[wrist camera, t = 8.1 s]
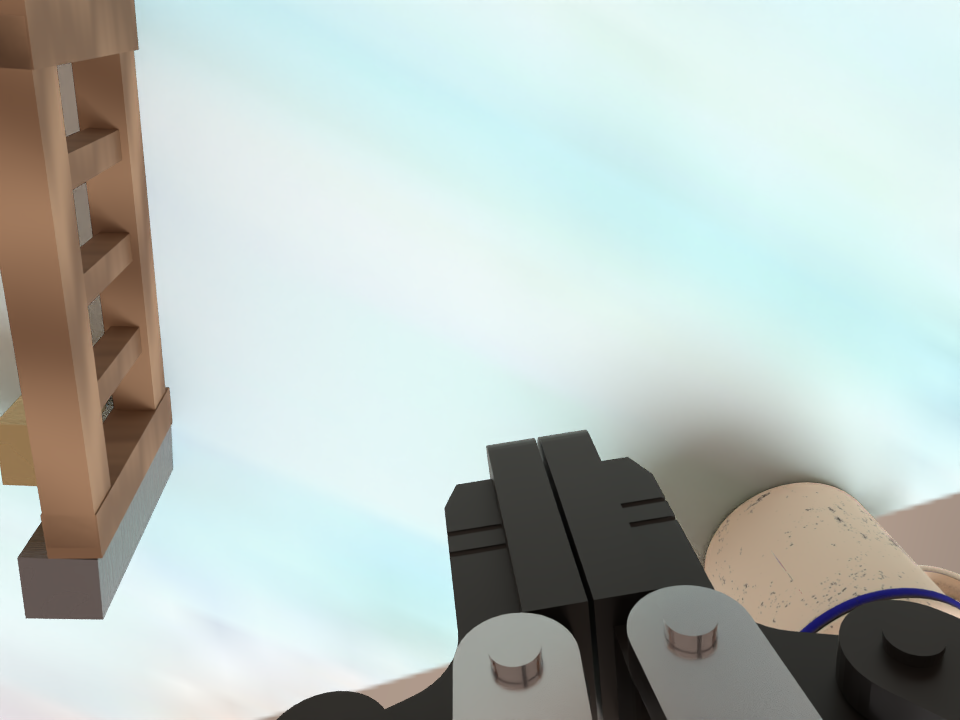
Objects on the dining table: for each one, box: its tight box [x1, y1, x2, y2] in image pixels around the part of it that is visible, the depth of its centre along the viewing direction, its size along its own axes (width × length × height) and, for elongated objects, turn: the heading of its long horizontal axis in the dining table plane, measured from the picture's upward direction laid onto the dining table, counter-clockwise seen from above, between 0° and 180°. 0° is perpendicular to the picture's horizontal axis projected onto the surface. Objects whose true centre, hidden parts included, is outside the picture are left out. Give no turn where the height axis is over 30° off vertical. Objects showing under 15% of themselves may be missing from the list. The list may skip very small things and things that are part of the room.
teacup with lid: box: [704, 482, 960, 635], centre depth 36 cm, size 12×9×12 cm
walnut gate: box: [0, 0, 172, 559], centre depth 26 cm, size 16×2×9 cm, turn 176°
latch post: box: [0, 395, 173, 619], centre depth 30 cm, size 5×4×10 cm
